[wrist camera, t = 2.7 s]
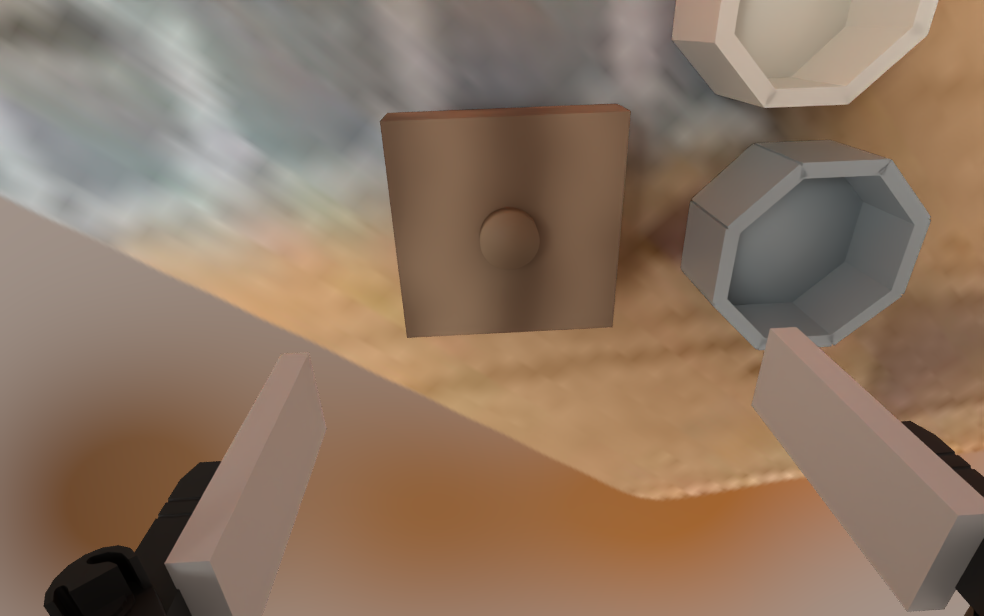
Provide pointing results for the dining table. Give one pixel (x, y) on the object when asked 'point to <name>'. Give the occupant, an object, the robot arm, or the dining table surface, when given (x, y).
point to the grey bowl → (803, 239)
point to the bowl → (797, 46)
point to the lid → (507, 216)
